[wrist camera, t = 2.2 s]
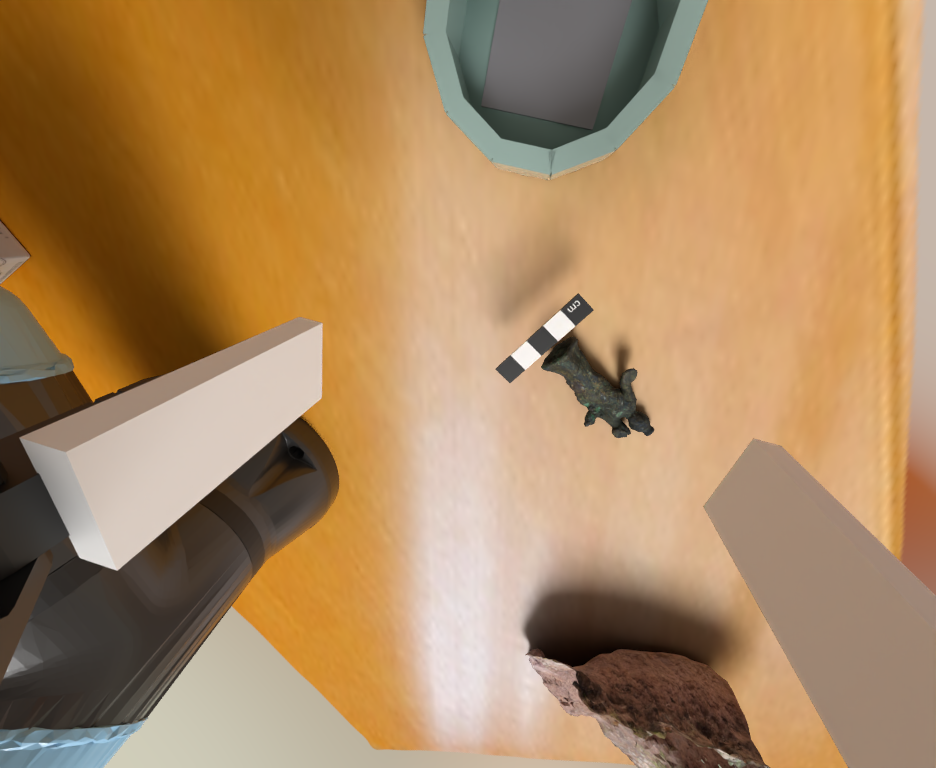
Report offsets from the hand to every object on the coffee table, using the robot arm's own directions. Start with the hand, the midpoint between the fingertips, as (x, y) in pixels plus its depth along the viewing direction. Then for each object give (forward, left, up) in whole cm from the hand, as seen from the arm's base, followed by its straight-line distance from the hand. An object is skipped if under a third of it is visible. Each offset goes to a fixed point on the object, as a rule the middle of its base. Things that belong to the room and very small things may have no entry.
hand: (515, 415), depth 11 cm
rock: (+23, -35, -15) cm, 44 cm away
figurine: (0, 0, -12) cm, 12 cm away
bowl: (-2, +13, -14) cm, 19 cm away
